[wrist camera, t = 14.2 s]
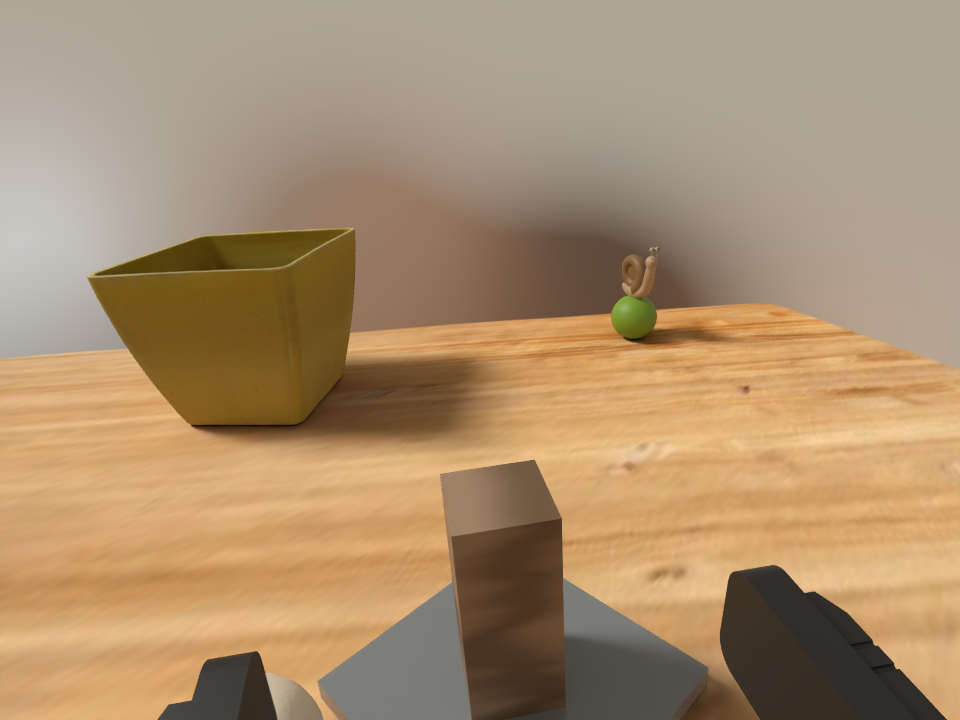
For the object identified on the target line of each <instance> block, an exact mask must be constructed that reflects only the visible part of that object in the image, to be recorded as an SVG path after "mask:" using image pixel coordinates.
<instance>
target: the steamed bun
mask: <svg viewBox="0 0 960 720" xmlns="http://www.w3.org/2000/svg"><path fill="white" fill-rule="evenodd" d="M265 674H266V677H267V681H268V685H269V688H270V692H271V695H272V699H273V703H274V706H275V710H276V714H277V719H278V720H323V716H322V714H321V711H320V709H319V707H318V705H317V703H316V702H315V701H314V699H313V698H312V697H311V696H310V695H309V693H308V692H307V691H306V690H305V689H304V688H303V687H302V686H301V685H299V684H298V683H296V682H294V681H293V680H290V679H288V678H286V677H284V676H281V675H277V674H272V673H265Z"/></svg>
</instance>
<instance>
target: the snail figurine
mask: <svg viewBox="0 0 960 720" xmlns="http://www.w3.org/2000/svg"><path fill="white" fill-rule="evenodd" d="M655 251H656V252H658V251H659V247H655ZM650 252H652V253H653V252H654V248H650ZM657 263H658V261H657V256H656V258H655V257H654V256H650V257H648V258H647V259H646V265H645V262H644V261H643V260H642V258H641V257H639V256H637V255H629V256H628V257H626V259H625V260H624V262H623V265H622V275H623V278H624V281H625V282H626V283H622V287H623V289H624V292H625V293H626V294H627V295H628V296H626V297H624V298H622V299H620V300H619V301H618V302H617V303H616V305H615V306H614V308H613V311H612V315H611V319H612V324H613V326H614V328H615V330H616V331H617V332H618V333H619V334H620V335H622V336H624V337H626V338H630V339H637V338H641V337H644V336H646V335H647V334H649V333H650V332H651V331H652V329H653V328H654V326H655V324H656V320H657V313H656V309H655V307H654V305H653V304H652V302H650V300H648V299H647V298H645V296H646V295H648V293H649V292H650V290H651V288H652V285H653V281H654V277H655V269H656V266H657Z"/></svg>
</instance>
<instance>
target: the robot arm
mask: <svg viewBox="0 0 960 720" xmlns="http://www.w3.org/2000/svg"><path fill="white" fill-rule="evenodd" d="M720 643H721V649H722V653H723V656H724V659H725V662H726V664H727V666H728V668H729V670H730V672H731V674H732V675H733V677H734V679H735V680H736V682H737V683H738V685H739V686H740V688H741V690H742V691H743V693H744V694H745V696H746V698H747V699H748V701H749V702H750V704H751V705H752V707H753V709H754V710H755V712H756V713H757V715H758V717H759V718H760V720H947V719H946V718H945V717H944V716H943V715H942V714H941V713H940V712H939V711H938V710H937V709H936V708H935V706H934V705H933V704H932V703H931V702H930V701H929V700H928V699H927V698H926V697H925V696H924V695H923V694H922V693H921V691H920V690H919V689H918V688H917V687H916V686H915V685H914V684H913V683H912V682H911V681H910V680H909V679H908V678H907V676H906V675H905V674H904V673H903V672H902V671H901V670H900V669H896V668H895V666H894V663H893V661H892V660H891V659H890V658H889V657H888V656H887V655H886V654H885V653H884V652H883V651H882V650H881V649H880V648H879V646H875V645H874V644H873V640H872V639H871V638H870V637H869V636H868V635H867V634H866V633H865V631H864V630H863V629H862V628H861V627H860V626H859V625H858V624H857V623H856V622H855V621H854V620H853V619H852V618H851V616H850V615H849V614H848V613H847V612H845V611H844V610H842V609H841V608H839V607H838V606H836V605H834V604H833V603H831V602H830V601H828V600H827V599H825V598H824V597H822V596H821V595H819V594H818V593H816V592H815V591H814V592H808V593H804V592H803V591H802V590H801V589H800V588H799V586H798V585H797V584H796V583H795V582H794V581H793V580H792V579H791V577H790V576H789V575H788V574H787V573H786V572H785V571H784V570H783V569H782V568H780V567H778V566H776V565H770V566H764V567H759V568H753V569H747V570H741V571H735V572H733V573H731V575H730V577H729V580H728V586H727V592H726V598H725V604H724V611H723V617H722V623H721V630H720ZM158 720H278V719H277V714H276V710H275V706H274V703H273V699H272V695H271V692H270V688H269V685H268V681H267V677H266V674H265V670H264V667H263V663H262V660H261V657H260V654H259V653H258V652H257V651H255V652H249V653H243V654H237V655H231V656H226V657H220V658H214V659H209V660H207V661H206V662H205V663H204V665H203V667H202V669H201V672H200V675H199V678H198V682H197V685H196V688H195V692H194V695H193V698H192V701H186V702H181V703H175V704H170V705H168V706H167V708H166V709H165V710H164V712H163V713H162V714H161V716H160V717H159V719H158Z"/></svg>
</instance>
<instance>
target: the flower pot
mask: <svg viewBox="0 0 960 720" xmlns="http://www.w3.org/2000/svg"><path fill="white" fill-rule="evenodd" d="M87 278H88V280H89V282H90V284H91V286H92V288H93V290H94V292H95V294H96V296H97V298H98V300H99V302H100V303H101V305H102V307H103V309H104V310H105V312H106V314H107V315H108V317H109V319H110V321H111V322H112V324H113V326H114V327H115V329H116V330H117V332H118V334H119V336H120V337H121V339H122V340H123V342H124V343H125V345H126V346H127V348H128V349H129V351H130V352H131V354H132V355H133V357H134V358H135V360H136V361H137V362H138V364H139V365H140V366H141V368H142V369H143V371H144V372H145V373H146V375H147V376H148V377H149V379H150V380H151V381H152V382H153V384H154V385H155V386H156V387H157V389H158V390H159V391H160V392H161V394H162V395H163V396H164V397H165V398H166V400H167V401H168V402H169V403H170V404H171V405H172V407H173V408H174V409H175V410H176V411H177V412H178V413H179V414H180V415H181V416H182V418H183V419H184V420H185V421H186V422H187V423H189V424H192V425H293V424H298V423H300V422H302V421H304V420H305V419H306V418H307V417H308V415H309V414H310V413H311V412H312V411H313V410H314V408H315V407H316V406H317V405H318V404H319V402H320V401H321V400H322V399H323V398H324V396H325V395H326V394H327V393H328V392H329V391H330V389H331V388H332V387H333V386H334V385H335V383H336V382H337V381H338V380H339V379H340V378H341V377H342V374H343V369H344V365H345V360H346V354H347V348H348V342H349V335H350V328H351V320H352V311H353V299H354V283H355V229H354V228H334V229H314V230H291V231H272V232H255V233H236V234H221V235H220V234H219V235H206V236H200V237H196V238H193V239H190V240H187V241H184V242H181V243H178V244H175V245H173V246H170V247H167V248H164V249H161V250H158V251H155V252H152V253H149V254H146V255H143V256H140V257H137V258H135V259H131V260H128V261H126V262H123V263H120V264H117V265H114V266H111V267H108V268H106V269H103V270H100V271H97V272H94V273H92V274H89V275H88V276H87Z"/></svg>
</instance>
